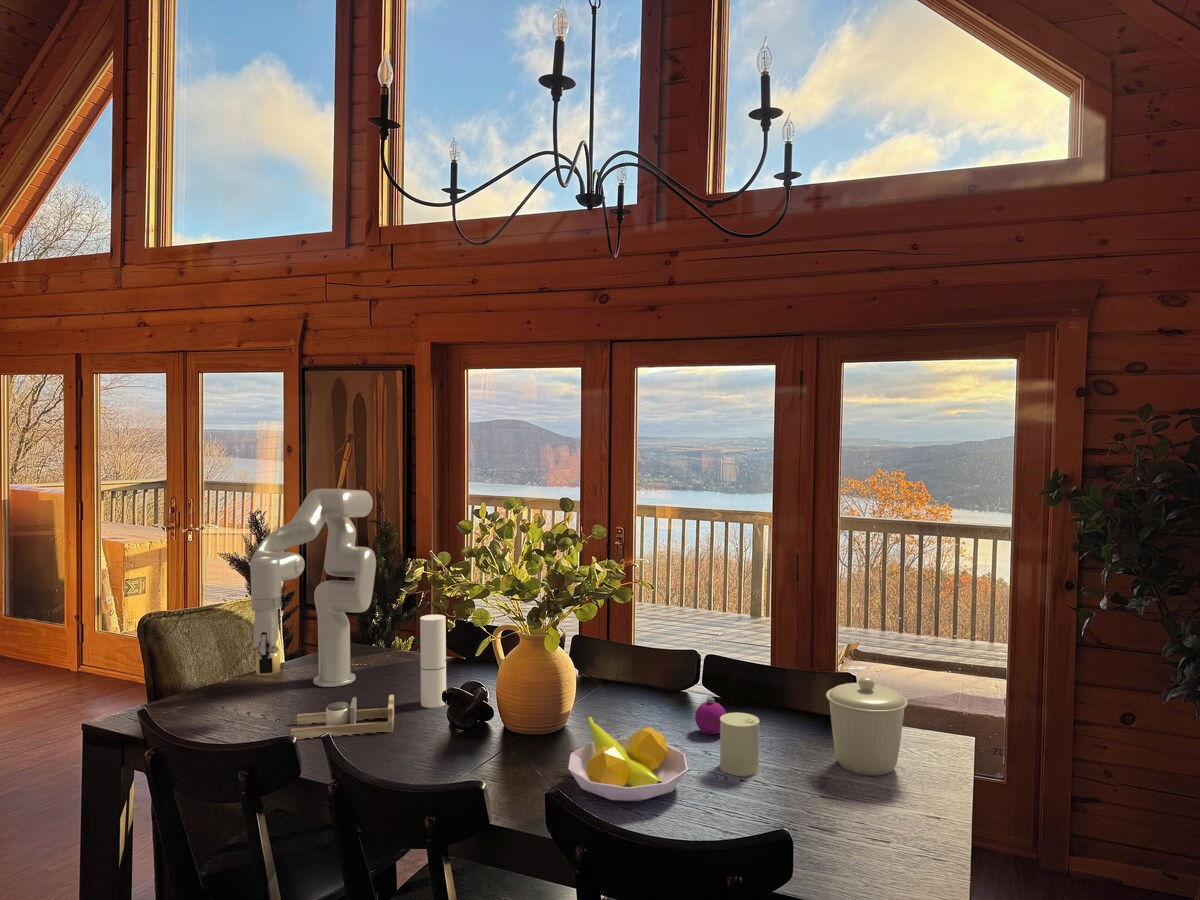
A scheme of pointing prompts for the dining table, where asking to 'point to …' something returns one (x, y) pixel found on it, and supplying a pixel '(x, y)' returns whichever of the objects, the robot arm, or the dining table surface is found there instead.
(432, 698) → the cylindrical container
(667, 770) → the fruit bowl
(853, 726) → the canister
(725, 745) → the can
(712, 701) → the christmas ornament
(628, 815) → the dining table surface
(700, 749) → the dining table surface
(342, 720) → the cream jar
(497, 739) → the dining table surface
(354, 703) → the pusher
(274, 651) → the amber jar
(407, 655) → the dining table surface
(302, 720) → the lane
